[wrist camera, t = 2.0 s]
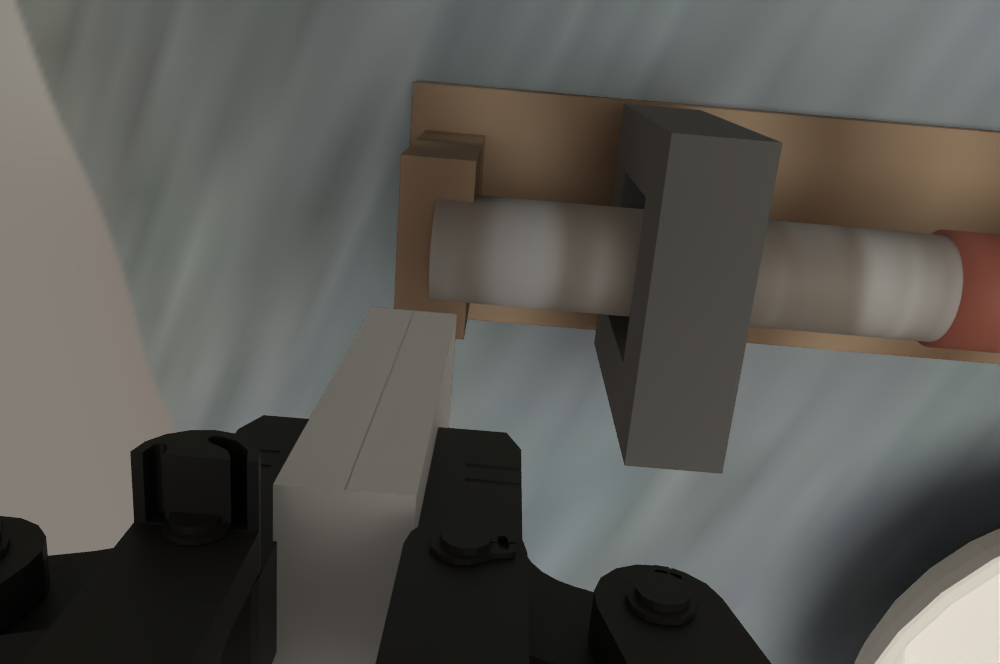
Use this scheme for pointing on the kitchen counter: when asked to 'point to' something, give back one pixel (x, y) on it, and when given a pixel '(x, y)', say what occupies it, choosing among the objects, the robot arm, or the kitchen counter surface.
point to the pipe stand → (616, 230)
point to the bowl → (945, 613)
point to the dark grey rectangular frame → (685, 282)
